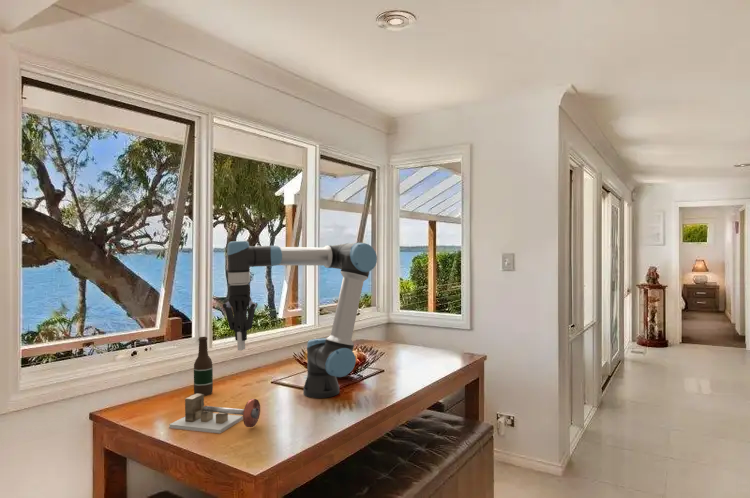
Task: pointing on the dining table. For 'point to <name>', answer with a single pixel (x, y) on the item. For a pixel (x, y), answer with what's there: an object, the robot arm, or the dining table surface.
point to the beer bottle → (203, 370)
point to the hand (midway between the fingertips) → (241, 349)
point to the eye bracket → (200, 410)
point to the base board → (206, 424)
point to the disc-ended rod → (241, 412)
